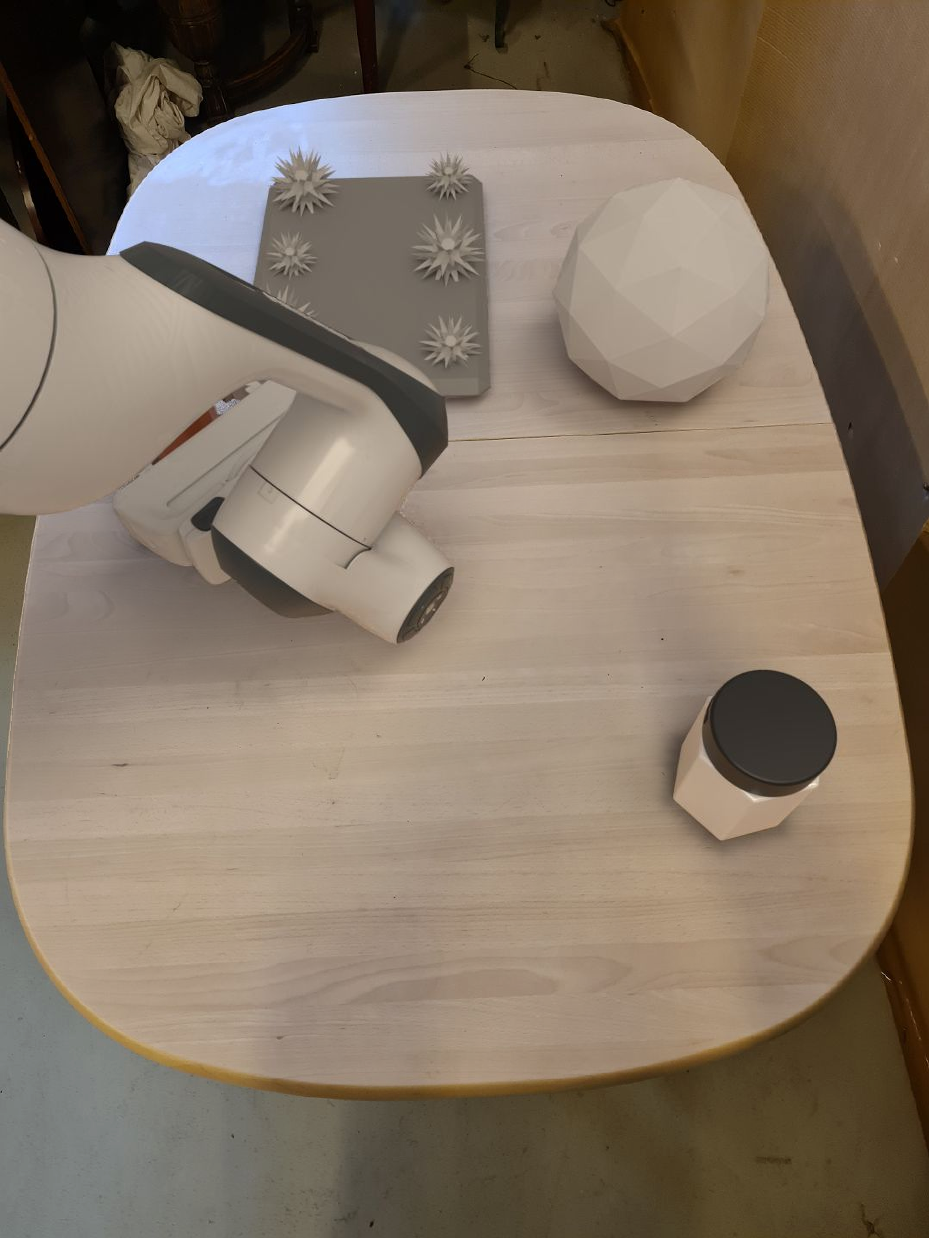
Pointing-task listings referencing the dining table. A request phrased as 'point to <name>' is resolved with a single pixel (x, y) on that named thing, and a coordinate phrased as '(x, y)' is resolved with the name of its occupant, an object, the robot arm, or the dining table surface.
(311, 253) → the decorative tray
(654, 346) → the sphere
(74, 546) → the dining table surface
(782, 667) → the dining table surface
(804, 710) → the jar
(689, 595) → the dining table surface
